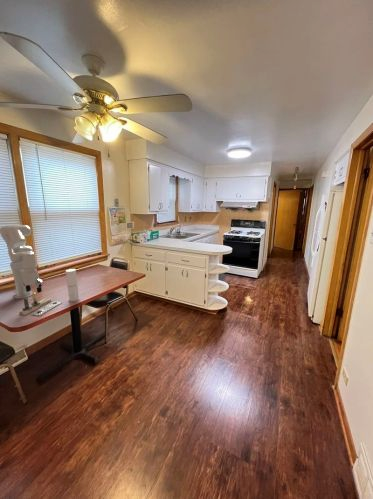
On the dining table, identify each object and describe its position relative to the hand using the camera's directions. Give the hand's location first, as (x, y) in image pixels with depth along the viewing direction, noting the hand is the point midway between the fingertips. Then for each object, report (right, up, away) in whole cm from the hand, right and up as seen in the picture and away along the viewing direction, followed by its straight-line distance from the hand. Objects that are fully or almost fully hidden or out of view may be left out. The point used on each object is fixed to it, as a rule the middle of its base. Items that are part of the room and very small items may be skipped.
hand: (34, 291), depth 154 cm
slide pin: (-1, -10, +3) cm, 11 cm away
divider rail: (-1, -13, +3) cm, 13 cm away
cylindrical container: (+21, -10, +17) cm, 28 cm away
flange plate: (+9, -13, +1) cm, 16 cm away
